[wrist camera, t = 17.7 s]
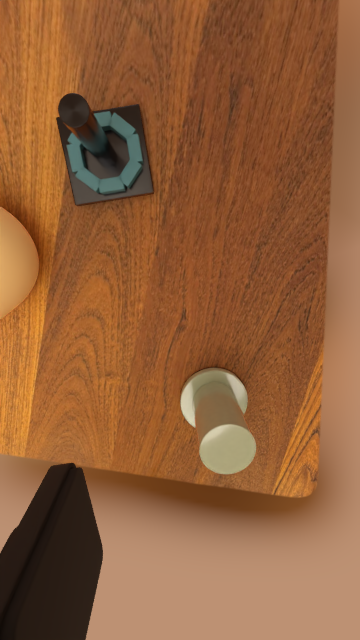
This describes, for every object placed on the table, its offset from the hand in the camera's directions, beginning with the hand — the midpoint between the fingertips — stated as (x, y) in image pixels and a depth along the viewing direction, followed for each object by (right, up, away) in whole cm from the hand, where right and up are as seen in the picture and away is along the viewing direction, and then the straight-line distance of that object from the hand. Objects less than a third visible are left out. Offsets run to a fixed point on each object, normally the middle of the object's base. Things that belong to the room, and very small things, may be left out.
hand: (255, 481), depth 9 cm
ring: (-9, +20, +23) cm, 32 cm away
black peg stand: (-9, +21, +24) cm, 33 cm away
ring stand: (+2, -5, +30) cm, 31 cm away
